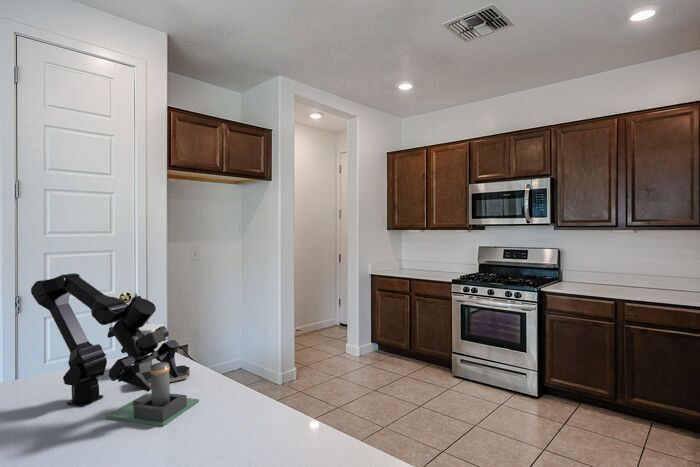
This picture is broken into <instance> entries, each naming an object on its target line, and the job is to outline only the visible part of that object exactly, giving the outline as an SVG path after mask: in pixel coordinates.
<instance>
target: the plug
mask: <svg viewBox="0 0 700 467" xmlns="http://www.w3.org/2000/svg"><path fill="white" fill-rule="evenodd" d="M169 371H170V369H169V363H167V362H161V363H156V364H153V365H151V369H150V374H151V386H150V388H151V390H150V391H151V392H150V394H151V397H152V406H158V407H163V406H165V405H166V404H168V403H169V402H170V393H171V392H170V391H171V390H170V389H171V388H170V385H171V384H170V383H171V382H169Z"/></svg>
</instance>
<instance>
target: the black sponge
mask: <svg viewBox="0 0 700 467" xmlns="http://www.w3.org/2000/svg"><path fill="white" fill-rule="evenodd" d="M176 368H177V372H178V377H177V378H174V377H173V376H172V375H170V374H169V383H172V382H173V383H174V382H177V381H181V380H185V379H188V378H189V377H190V372H191V371H190V367H189V366H187V365H176ZM142 375H143V376H144V378H145V379H146V381H147V382H148V384H149V386H150V387H151V374H150V371H149V372H144V373H142Z"/></svg>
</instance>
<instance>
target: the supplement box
mask: <svg viewBox="0 0 700 467" xmlns="http://www.w3.org/2000/svg"><path fill="white" fill-rule="evenodd" d="M162 326H164V327H165V328H166V325H165V323H164V324H163V323H161V324H158V323H157V324H156V323H154V324H153V323H151V324H149V323H148V324H147V323H145V325H144V326H142V327H140V328H139V329H140V330H141V332H142V333H148V334H149V333H151V332H154V331H155V329H157V328H159V327H162ZM165 342H166V340H165V341H162V342H160V343H158V347H157V348H155V349H154V350H155V351H156V350H158V349H159V348H160V346H161V345H162V344H163V343H165ZM160 362H161V361H158V360H157V359H156V358H155V359H152V360H150V361H147V362H145V363H142V364H140V365H139V368H140V372H141V373H144V372H149V371H150V369H151V365H153V364H156V363H160Z"/></svg>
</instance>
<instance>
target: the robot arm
mask: <svg viewBox="0 0 700 467" xmlns="http://www.w3.org/2000/svg"><path fill="white" fill-rule="evenodd" d="M30 293H31V296H32V297H33V299H34V300H35V301H36V302H37V304H38V305H39V306H41V307H42V308H44V309H46V310H48V312H49V313H50V314H51V317H52V319H53V321H54V323H55V325H56V327H57V329H58V330H59V333H60V335H61V336H62V338H63V340H64V343H65V345H66V346H67V348H68V350H69V358H68V367H69V369H68V370H67V372H65V373H64V375H63V376H62V379H63V383H64V385H68V386H71V400H69V401H66V405H70V406H77V407H86V406H88V405H90V404H92V403H94V402H96V401H98V400H101V399H102V398H104V395H103V394H100V384H99V377H102V376H104V375H105V371H106V369H107V364H108V360H107V357H106V356H107V354H106V353H105V352H104V350H103V347H102V346H101V344H100V343H97V344H92V343H90V341H89V339H88V337H87V335H86V334H85V332H84V330H83V328H82V326H81V324H80V322H79V320H78V318H77V316H76V314H75V312H74V311H73V308H72V306H71V304H70V303H69V299H70V295H71V296H72V297H74V298H75V299H77V300H78V301H80V302H81V303H82V304H83V305H85V306H87V308H89V310H90V311H91V316H92V317H93V319H95V320H96V322H97V323H98V324H100V325H102V326H105V325H110V324H113V323H114V325H113V326H110V327H108V332H107V338H108V339H109V338H115V339H116V340H117V342H118V343H119V344H120V346H121V347H122V348H121V350H120V352H121V353H122V354H127V356H124V357H121V358H119V359H117V360H116V361H115V363H114V364H113V365H112V366H111V367H110V369H108V377H109V378H110V380H111V381H112V382H115V381H117V382H119V383H121V382H123V383H126V384H129V385H131V386H134V387H136V388H138V389H141V390H143V391H145V392H147V393H148V392H150V391H151V386H149V384H148V382H147V381H146V379H145V378H144V376H143V375H142V373H141V372H140V368H139V365H140V364H142V363H145V362H147V361H150V360H152V359H155V358H156V359H157V360H158V361H161V362H167V363H169V369H170V371H169V374H170V375H172V376H173V377H174V378H177V377H178V372H177V368H176V366H177V365H176V358H175V356H176V355H175V354H176V352H177V351H178V349H179V348H180V344H179V343H178V341H176V339H175V340H174V339H172V340H169V341H167V338H168V337H169V335H170V333H169V330H168V328H167V327H166V326H165V327H164V326H162V327H159V328H157V329H155V331H154V332H151V333H149V334H148V333H142V332H141V330H140V329H139V328H140V327H142V326H144V325H145V324H147V322H148V321H149V320H150V319H151V318H152V316H153V315H154V313H156V305H155V304H154V302H152V301H150V300H149V299H146V298H142V297H141V295H137V296H133V297H132V298H131V300H130V302H129V303H127V302H126V301H124V300H123V299H120V298H118V297H114V296H109V295H106V294H104V293H103V292H101V291H100V290H98V289H97V288H95V287H94V285H91V284H90V283H89V282H87V281H86V280H85V279H83V278H82V277H81V275H80V274H78V273H74V272H73V273H66V274H61V275H59V276H56V277H53V278H50V279H44V280H43V279H42V280H41V279H40V280H36V281H35V282H34V284H33V285H32V286H31V288H30ZM162 341H165V343H163V344H162V345H161V346H160V348H159V349H158V350H156V351H155V350H154V349H155V348H157V347H158V343H160V342H162ZM161 362H160V363H161Z"/></svg>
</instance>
